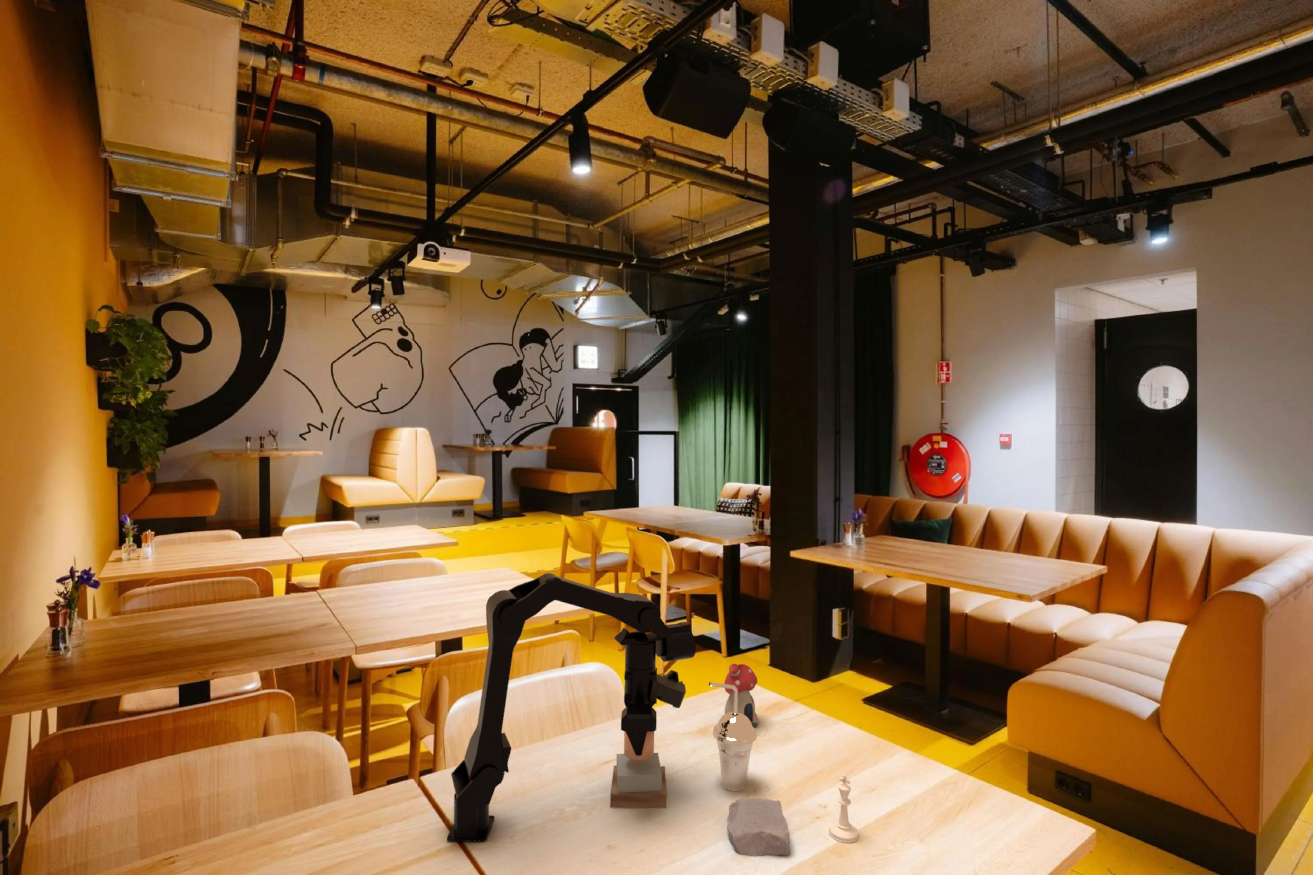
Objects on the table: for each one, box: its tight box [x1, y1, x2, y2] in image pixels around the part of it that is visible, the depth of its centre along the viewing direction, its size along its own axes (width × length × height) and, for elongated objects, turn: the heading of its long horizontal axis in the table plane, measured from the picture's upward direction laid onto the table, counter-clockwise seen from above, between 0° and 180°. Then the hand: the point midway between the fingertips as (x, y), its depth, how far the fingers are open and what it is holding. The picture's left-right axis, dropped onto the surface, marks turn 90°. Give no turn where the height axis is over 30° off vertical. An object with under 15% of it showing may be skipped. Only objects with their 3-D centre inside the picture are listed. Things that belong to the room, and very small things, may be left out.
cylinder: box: [623, 731, 655, 760], centre depth 123 cm, size 6×6×4 cm
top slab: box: [616, 752, 662, 793], centre depth 123 cm, size 8×8×3 cm
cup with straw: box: [708, 681, 758, 792], centre depth 126 cm, size 8×9×20 cm
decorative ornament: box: [723, 663, 759, 729], centre depth 151 cm, size 9×7×15 cm
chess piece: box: [828, 774, 860, 844], centre depth 111 cm, size 5×5×10 cm
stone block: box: [726, 797, 790, 858], centre depth 111 cm, size 12×5×10 cm
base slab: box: [609, 765, 667, 809], centre depth 123 cm, size 10×10×3 cm
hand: (638, 747), depth 123 cm, fingers closed on cylinder, 6 cm apart
